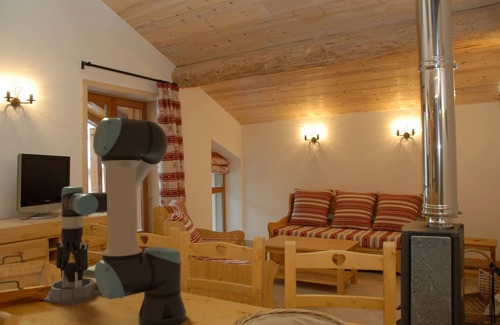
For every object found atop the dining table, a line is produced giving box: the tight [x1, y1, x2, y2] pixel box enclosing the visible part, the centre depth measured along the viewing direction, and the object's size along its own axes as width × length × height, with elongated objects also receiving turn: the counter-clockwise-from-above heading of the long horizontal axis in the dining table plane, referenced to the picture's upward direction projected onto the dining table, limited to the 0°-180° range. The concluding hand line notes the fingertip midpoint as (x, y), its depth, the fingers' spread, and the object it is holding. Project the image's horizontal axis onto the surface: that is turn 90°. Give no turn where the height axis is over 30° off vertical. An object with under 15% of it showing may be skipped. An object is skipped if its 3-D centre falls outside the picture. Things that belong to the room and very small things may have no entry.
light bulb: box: [64, 261, 77, 289], centre depth 157 cm, size 6×6×10 cm
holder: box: [43, 277, 102, 306], centre depth 157 cm, size 16×16×5 cm
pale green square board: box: [83, 264, 96, 279], centre depth 173 cm, size 16×16×3 cm
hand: (71, 287), depth 157 cm, fingers closed on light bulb, 6 cm apart
